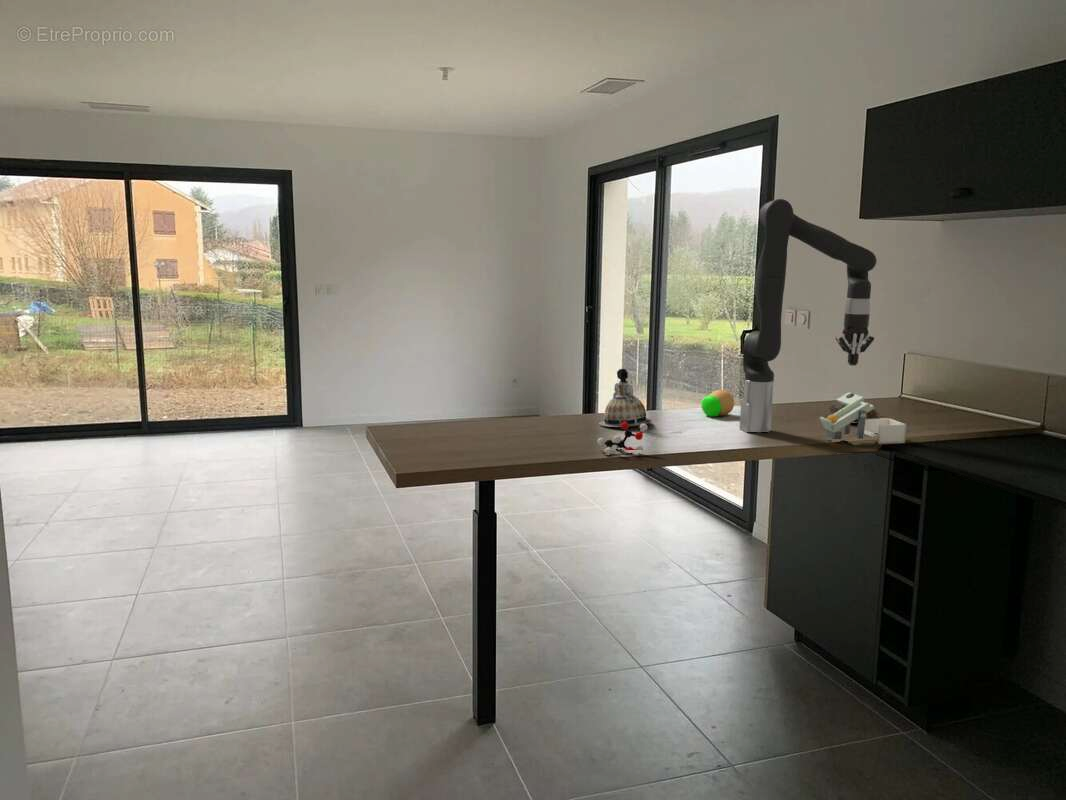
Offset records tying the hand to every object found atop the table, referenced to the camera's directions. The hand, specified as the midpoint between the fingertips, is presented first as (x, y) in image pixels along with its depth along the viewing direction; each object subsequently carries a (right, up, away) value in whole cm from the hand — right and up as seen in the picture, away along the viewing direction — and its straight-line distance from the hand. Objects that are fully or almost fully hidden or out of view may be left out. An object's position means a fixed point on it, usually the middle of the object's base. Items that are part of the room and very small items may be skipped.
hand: (852, 365), depth 259 cm
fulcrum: (-5, -25, -7) cm, 26 cm away
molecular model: (-78, -28, -23) cm, 86 cm away
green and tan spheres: (-38, -17, +29) cm, 51 cm away
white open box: (+7, -24, -6) cm, 26 cm away
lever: (-5, -16, -3) cm, 17 cm away
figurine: (-73, -20, +13) cm, 77 cm away
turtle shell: (+9, -19, +22) cm, 31 cm away
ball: (-10, -18, -10) cm, 23 cm away
